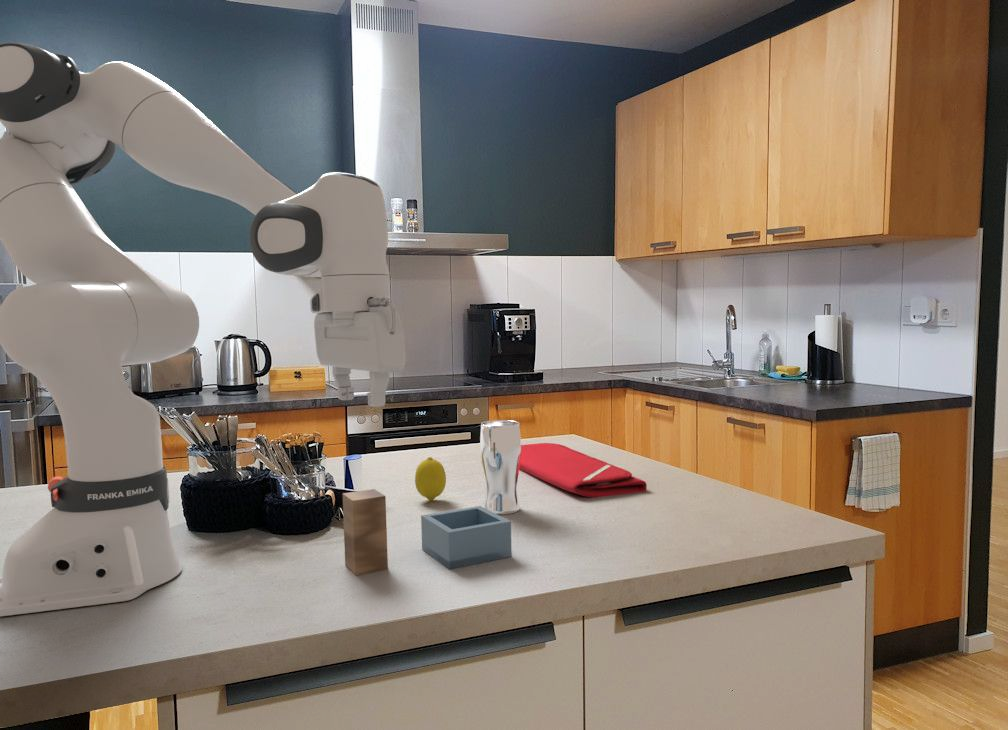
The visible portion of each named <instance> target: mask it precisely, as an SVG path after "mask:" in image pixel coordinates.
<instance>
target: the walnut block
mask: <svg viewBox="0 0 1008 730" xmlns="http://www.w3.org/2000/svg"><path fill="white" fill-rule="evenodd" d="M386 498H387V497H386V495H385V494H383V493H382V492H380V491H378V490H377V489H376V488H372V489H365V490H358V491H352V492H351V491H350V492H344V493H343V492H342V515H343V539H344V543H343V544H344V563H345V567H346V568H347V569H348V570H349V571H350V572H351V573H352V574H353V576H359V575H365V574H370V573H375V572H380V571H387V570H388V569H389V564H388V562H389V559H388V532H387V531H388V528H387V504H386V503H387V502H386V500H387V499H386Z"/></svg>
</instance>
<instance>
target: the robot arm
mask: <svg viewBox="0 0 1008 730" xmlns="http://www.w3.org/2000/svg"><path fill="white" fill-rule="evenodd" d="M0 123H1V125H2V126H3V127H4V128H5V129H6V130H7V131H4V132H3V134H2V136H1V138H0V241H1V243H2V245H3V247H4V248H5V249H6V252H7V253H8V255H9V257H10V258H11V260H12V262H13V263H14V264H15V266H16V268H17V269H18V270H19V272H20V273H21V274H22V275H23V277H25V278H27V279H28V280H29V281H31V282H33V283H35V284H32V285H28V286H22V287H18V288H16V289H13V290H12V291H11V292H10V293H8V294H7V296H6V297H5V299H3V301H2V303H1V304H0V346H1V348H2V350H3V351H4V352H5V354H6V355H7V356H8V357H9V359H10V360H11V361H13V362H14V363H15V364H16V365H18V366H19V367H21V368H23V369H25V370H26V371H28V372H29V373H30V374H32V375H33V376H34V377H35V378H37V379H38V381H39V382H40V383H41V384H42V385H43V387H45V389H46V390H47V392H48V393H49V394H50V396H51V398H52V400H53V402H54V404H55V406H56V408H57V410H58V413H59V415H60V421H61V423H62V429H63V436H64V445H65V453H66V464H67V474H68V475H67V476H65V477H62V476H60V475H59V476H58V475H57V476H53V477H52V478H50V480H49V481H48V485H47V489H48V491H49V493H50V503H51V507H52V509H50V510H49V511H48V512H47V513H46V514H45V515H43V516H42V517H41V518H39V520H37V521H36V522H35V523H33V524H32V525H31V526H30V527H28V529H27V530H25V531H24V532H23V533H21V534H20V535H19V536H18V537H17V538H16V539H15V540H14V541H13V542H12V543H11V545H10V546H9V548H8V550H7V552H6V554H5V557H4V563H3V565H2V566H3V567H2V572H1V577H0V617H6V616H14V615H22V614H32V613H39V612H46V611H47V612H48V611H55V610H56V611H57V610H63V609H71V608H79V607H81V608H82V607H87V606H97V605H104V604H105V605H106V604H111V603H113V604H114V603H119V602H127V601H130V600H134V599H136V598H137V597H139V596H140V595H142V594H143V593H145V592H146V591H148V590H151V589H153V588H155V587H157V586H160V585H163V584H165V583H167V582H169V581H170V580H172V579H174V578H176V577H177V576H178V575H179V574H180V573H181V571H182V570H183V565H182V563H181V561H180V558H179V555H178V553H177V549H176V546H175V543H174V538H173V534H172V529H171V525H170V520H169V515H168V509H169V503H170V487H169V484H170V483H169V475H168V472H167V469H166V467H165V466H164V463H163V448H162V447H163V445H162V430H161V429H162V428H161V416H160V414H159V411H158V410H157V408H156V407H155V405H153V403H152V402H150V401H148V400H146V399H145V398H143V397H140V396H138V395H136V394H134V392H133V391H132V389H130V387H129V384H128V383H127V381H126V378H125V375H124V372H123V371H124V370H123V366H131V365H133V366H134V365H141V364H152V363H158V362H162V361H164V360H167V359H170V358H173V357H176V356H178V355H180V354H183V353H186V352H187V351H189V350H190V349H191V348H192V346H194V344H195V342H196V340H197V338H198V335H199V329H200V316H199V312H198V309H197V306H196V304H195V303H194V301H193V299H192V298H191V296H189V294H187V293H186V292H185V291H183V290H181V289H179V288H177V287H174V286H172V285H170V284H168V283H166V282H164V281H162V280H160V279H159V278H158V277H156V276H154V275H153V274H151V273H150V272H148V271H147V270H146V269H144V268H143V267H142V266H140V265H139V264H138V263H137V262H136V261H135V260H133V259H132V258H131V257H130V256H129V255H128V254H127V253H125V252H124V251H123V250H121V248H119V247H118V246H117V245H116V244H115V243H114V242H113V241H112V240H111V239H110V238H109V237H108V236H107V235H106V234H105V232H104V231H103V230H102V229H101V227H100V226H99V224H98V223H97V221H96V220H95V218H94V216H92V214H91V212H90V211H89V210H88V208H87V207H86V205H85V204H84V201H82V199H81V198H80V195H78V193H77V192H76V190H75V189H74V187H73V185H75V184H79V183H80V182H82V180H85V179H88V178H90V177H93V176H94V175H96V174H98V173H99V172H100V171H102V170H103V169H104V168H105V167H106V166H108V164H109V163H110V162H111V161H112V158H113V157H114V155H115V152H116V145H117V146H118V147H119V148H120V149H121V150H122V151H124V153H126V154H127V155H128V156H129V157H130V158H131V159H133V160H134V161H135V162H136V163H137V164H139V165H140V166H141V167H143V168H144V169H145V170H147V171H149V172H151V174H153V175H155V176H157V177H159V178H161V179H163V180H165V181H167V182H169V183H172V184H175V185H177V186H179V187H180V186H181V187H184V188H188V189H191V190H195V191H200V192H203V193H207V194H210V195H214V196H218V197H221V198H223V199H226V200H228V201H231V202H233V203H235V204H238V205H239V206H241V207H243V208H244V209H246V210H248V211H249V212H250V213H252V214H253V215H254V218H253V219H252V222H251V224H250V228H249V232H248V234H249V235H248V241H249V246H250V250H251V253H252V255H253V257H254V260H255V261H256V262H257V263H258V264H259V265H260V266H261V267H263V268H264V269H265V270H267V271H269V272H273V273H274V274H275V273H276V274H279V275H286V276H294V277H302V278H303V277H305V278H315V279H319V280H321V283H320V284H321V285H320V286H319V289H318V290H317V291H316V292H315V293H314V295H313V296H312V297H311V298H310V301H309V303H310V312H311V313H313V314H316V315H315V316H314V319H313V320H314V322H313V325H314V326H313V327H314V341H315V351H316V356H317V359H318V361H319V363H320V365H321V366H324V367H331V368H332V376H333V379H334V382H335V384H336V388H337V398H338V399H339V400H341V401H352V400H354V398H355V394H354V393H355V388H354V386H352V383H351V377H350V374H351V370H357V371H364V372H369V374H368V375H369V380H370V381H371V384H370V390H369V392H367V404H368V406H370V407H374V408H380V407H385V405H386V392H387V388H388V387H389V382H390V373H397V372H398V373H399V372H403V371H404V369H405V365H406V363H407V354H406V342H405V335H404V334H405V333H404V328H403V321H402V318H401V316H400V315H399V313H398V312H397V309H396V307H395V305H394V304H393V303H392V301H391V280H390V277H391V276H390V270H389V266H388V263H387V258H386V257H387V250H388V245H389V231H388V230H389V229H388V219H387V218H388V217H387V210H386V204H385V198H384V193H383V190H382V189H381V186H380V185H379V184H378V183H377V182H376V181H374V180H372V179H370V178H368V177H365V176H363V175H362V176H361V175H357V174H353V173H348V172H341V171H338V172H337V171H331V172H327V173H324V174H322V175H321V176H320V177H319V178H318V179H317V181H316V182H315V183H314V184H313V185H312V186H310V187H308V188H307V189H305V190H303V191H302V192H300V193H298V192H296V191H295V190H294V189H292V188H291V187H290V186H288V185H287V184H286V183H284V182H283V181H282V180H280V179H279V178H278V177H276V176H275V175H274V174H272V173H271V172H270V171H268V170H267V169H266V168H264V167H263V166H261V165H260V164H259V163H258V162H256V161H255V159H253V158H251V156H250V155H248V154H247V153H246V152H245V151H244V150H243V149H242V148H241V147H239V146H238V145H237V144H236V143H235V142H234V141H233V140H232V139H230V138H229V137H228V136H227V134H225V133H224V132H223V131H222V130H221V129H220V128H218V127H217V126H216V124H214V123H213V122H212V121H211V120H210V119H209V118H208V117H207V116H205V114H204V113H203V112H202V111H200V110H199V109H198V108H197V107H196V106H195V105H193V103H191V102H190V101H189V100H187V99H186V98H185V97H184V96H183V95H182V94H180V93H179V92H177V91H176V90H175V89H174V88H172V87H171V86H169V85H168V84H167V83H166V82H163V81H162V80H160V79H159V78H158V77H155V76H154V75H153V74H151V73H149V72H147V71H145V70H143V69H141V68H140V67H138V66H135V65H133V64H131V63H129V62H124V61H110V62H107V63H104V64H102V65H100V66H98V67H97V68H95V69H94V70H92V71H91V72H90V71H89V72H82V71H79V67H78V65H77V63H76V62H75V61H74V59H73V58H71V57H69V56H67V55H65V54H64V55H63V54H59V53H51V52H50V51H47V50H45V49H43V48H41V47H38V46H36V45H34V44H30V43H25V42H18V41H17V42H16V41H14V42H13V41H12V42H4V43H3V42H2V43H0Z"/></svg>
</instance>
